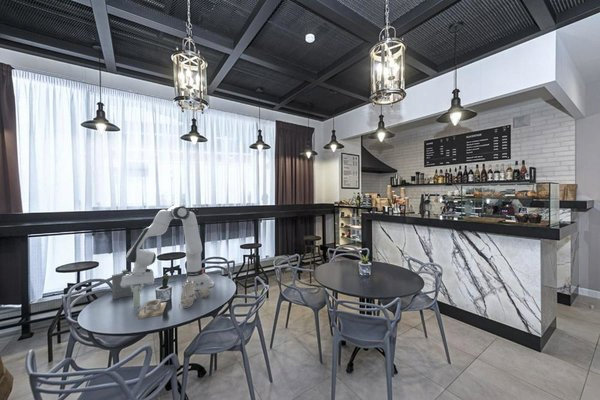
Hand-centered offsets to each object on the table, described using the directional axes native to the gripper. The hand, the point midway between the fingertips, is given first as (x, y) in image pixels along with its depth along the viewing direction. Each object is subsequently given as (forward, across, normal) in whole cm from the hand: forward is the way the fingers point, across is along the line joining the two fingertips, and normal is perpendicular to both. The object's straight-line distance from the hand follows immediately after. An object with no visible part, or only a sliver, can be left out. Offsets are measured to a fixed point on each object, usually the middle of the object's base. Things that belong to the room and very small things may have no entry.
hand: (136, 291), depth 169 cm
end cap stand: (+16, +12, 0) cm, 20 cm away
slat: (+7, 0, +8) cm, 11 cm away
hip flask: (-10, -13, +25) cm, 30 cm away
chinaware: (+12, +36, +4) cm, 38 cm away
